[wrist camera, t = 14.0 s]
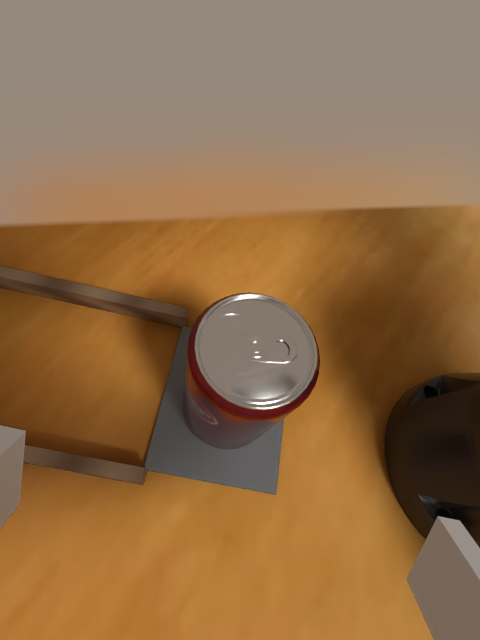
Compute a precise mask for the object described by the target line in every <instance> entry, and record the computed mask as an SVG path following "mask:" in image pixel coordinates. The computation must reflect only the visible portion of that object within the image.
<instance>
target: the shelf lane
mask: <svg viewBox="0 0 480 640" xmlns="http://www.w3.org/2000/svg"><path fill="white" fill-rule="evenodd" d="M0 287H1V288H5V289H10V290H14V291H19V292H23V293H28V294H32V295H37V296H42V297H46V298H51V299H55V300H60V301H64V302H69V303H73V304H78V305H82V306H87V307H91V308H96V309H100V310H105V311H109V312H114V313H119V314H123V315H128V316H132V317H137V318H141V319H146V320H150V321H155V322H159V323H164V324H168V325H173V326H177V327H182V326H186V323H187V319H188V308H186V307H182V306H177V305H173V304H168V303H164V302H160V301H155V300H151V299H146V298H142V297H137V296H133V295H128V294H124V293H120V292H115V291H111V290H106V289H102V288H97V287H93V286H88V285H84V284H80V283H75V282H71V281H66V280H62V279H57V278H53V277H48V276H44V275H40V274H35V273H31V272H26V271H22V270H17V269H13V268H8V267H4V266H0ZM23 463H28V464H34V465H39V466H44V467H50V468H55V469H60V470H66V471H71V472H76V473H82V474H87V475H92V476H98V477H103V478H108V479H114V480H119V481H124V482H130V483H135V484H140V485H143V484H144V480H145V476H146V473H147V470H146V468H143V467H138V466H133V465H128V464H122V463H117V462H112V461H107V460H101V459H96V458H91V457H86V456H80V455H75V454H70V453H65V452H60V451H54V450H49V449H44V448H39V447H33V446H28V445H25V448H24V460H23Z"/></svg>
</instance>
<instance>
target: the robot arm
mask: <svg viewBox="0 0 480 640" xmlns="http://www.w3.org/2000/svg"><path fill="white" fill-rule="evenodd" d="M25 436H26V431H25V430H20V429H16V428H11V427H6V426H1V425H0V529H1V527H2V526H3V525H4V523H5V522H6V521H7V520H8V518H9V517H10V516H11V514H12V513H13V512H14V510H15V509H16V508H17V507H18V505H19V504H20V495H21V483H22V472H23V460H24V448H25ZM385 452H386V461H387V467H388V471H389V475H390V479H391V482H392V485H393V488H394V490H395V493H396V495H397V497H398V499H399V501H400V503H401V505H402V507H403V509H404V510H405V512H406V514H407V515H408V517H409V518H410V520H411V521H412V523H413V524H414V525H415V527H416V528H417V529H418V530H419V532H420V533H421V534H422V535H423V536H424V537H425V538H426V541H425V543H424V545H423V547H422V549H421V551H420V553H419V555H418V557H417V559H416V561H415V563H414V565H413V567H412V569H411V571H410V573H409V575H408V577H407V581H408V583H409V586H410V588H411V590H412V592H413V594H414V597H415V599H416V601H417V603H418V605H419V607H420V610H421V612H422V614H423V616H424V618H425V621H426V623H427V625H428V627H429V629H430V632H431V634H432V636H433V638H434V640H480V373H454V374H446V375H441V376H437V377H434V378H432V379H430V380H427V381H425V382H423V383H421V384H419V385H417V386H415V387H413V388H412V389H410V390H409V391H407V392H406V393H405V394H404V395H403V396H402V397H401V398H400V400H399V401H398V402H397V404H396V405H395V407H394V409H393V411H392V413H391V415H390V418H389V421H388V425H387V430H386V439H385Z"/></svg>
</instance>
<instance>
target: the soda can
mask: <svg viewBox="0 0 480 640" xmlns="http://www.w3.org/2000/svg"><path fill="white" fill-rule="evenodd" d="M319 367H320V356H319V348H318V345H317V341H316V338H315V336H314V334H313V332H312V330H311V328H310V326H309V325H308V324H307V322H306V321H305V320H304V318H303V317H302V316H301V315H300V314H299V313H298V312H297V311H296V310H294V309H293V308H292V307H290V306H289V305H287V304H286V303H284V302H282V301H280V300H278V299H276V298H274V297H271V296H267V295H263V294H257V293H240V294H234V295H230V296H227V297H224V298H222V299H220V300H218V301H216V302H214V303H213V304H212V305H210V306H209V307H208V308H206V309H205V310H204V311H203V312H202V314H201V315H200V316H199V317H198V318H197V320H196V322H195V323H194V325H193V327H192V329H191V332H190V335H189V339H188V345H187V356H186V366H185V376H184V386H183V397H182V409H183V414H184V417H185V421H186V423H187V425H188V426H189V428H190V430H191V431H192V432H193V433H194V434H195V436H196V437H197V438H199V439H200V440H201V441H203V442H204V443H206V444H208V445H210V446H212V447H215V448H219V449H237V448H242V447H244V446H246V445H249V444H250V443H252V442H253V441H255V440H256V439H258V438H259V437H260V436H262V435H263V434H264V433H265V432H267V431H268V430H269V429H271V428H272V427H273V426H274V425H276V424H277V423H278V422H280V421H281V420H282V419H284V418H285V417H286V416H287V415H289V414H290V413H291V412H293V411H294V410H295V409H296V408H298V407H299V406H300V405H301V404H302V403H303V402H304V401H305V400H306V399H307V398H308V397H309V395H310V394H311V392H312V390H313V388H314V387H315V384H316V381H317V378H318V375H319Z"/></svg>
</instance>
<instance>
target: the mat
mask: <svg viewBox="0 0 480 640" xmlns="http://www.w3.org/2000/svg"><path fill="white" fill-rule="evenodd" d="M191 329H192V328H191V327H186V326H182V329H181V333H180V337H179V340H178V344H177V348H176V351H175V355H174V359H173V362H172V366H171V370H170V373H169V377H168V381H167V384H166V388H165V392H164V395H163V399H162V403H161V406H160V410H159V414H158V417H157V421H156V425H155V428H154V432H153V436H152V439H151V443H150V447H149V450H148V454H147V458H146V461H145V465H144V468H146V470H148V471H153V472H159V473H164V474H169V475H174V476H180V477H185V478H190V479H195V480H201V481H206V482H211V483H216V484H222V485H227V486H232V487H237V488H243V489H248V490H253V491H258V492H264V493H269V494H274V495H276V491H277V481H278V471H279V461H280V451H281V441H282V431H283V421H284V419H282V420H281V421H280V422H278V423H277V424H276V425H274V426H273V427H272V428H271V429H269V430H268V431H267V432H265V433H264V434H263V435H262V436H260V437H259V438H258V439H256V440H255V441H253V442H252V443H250V444H249V445H246V446H244V447H242V448H237V449H219V448H215V447H212V446H210V445H208V444H206V443H204V442H203V441H201V440H200V439H199V438H197V437H196V436H195V434H194V433H193V432H192V431H191V430H190V428H189V426H188V425H187V423H186V421H185V417H184V414H183V409H182V397H183V386H184V376H185V366H186V356H187V345H188V339H189V335H190V332H191Z"/></svg>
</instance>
